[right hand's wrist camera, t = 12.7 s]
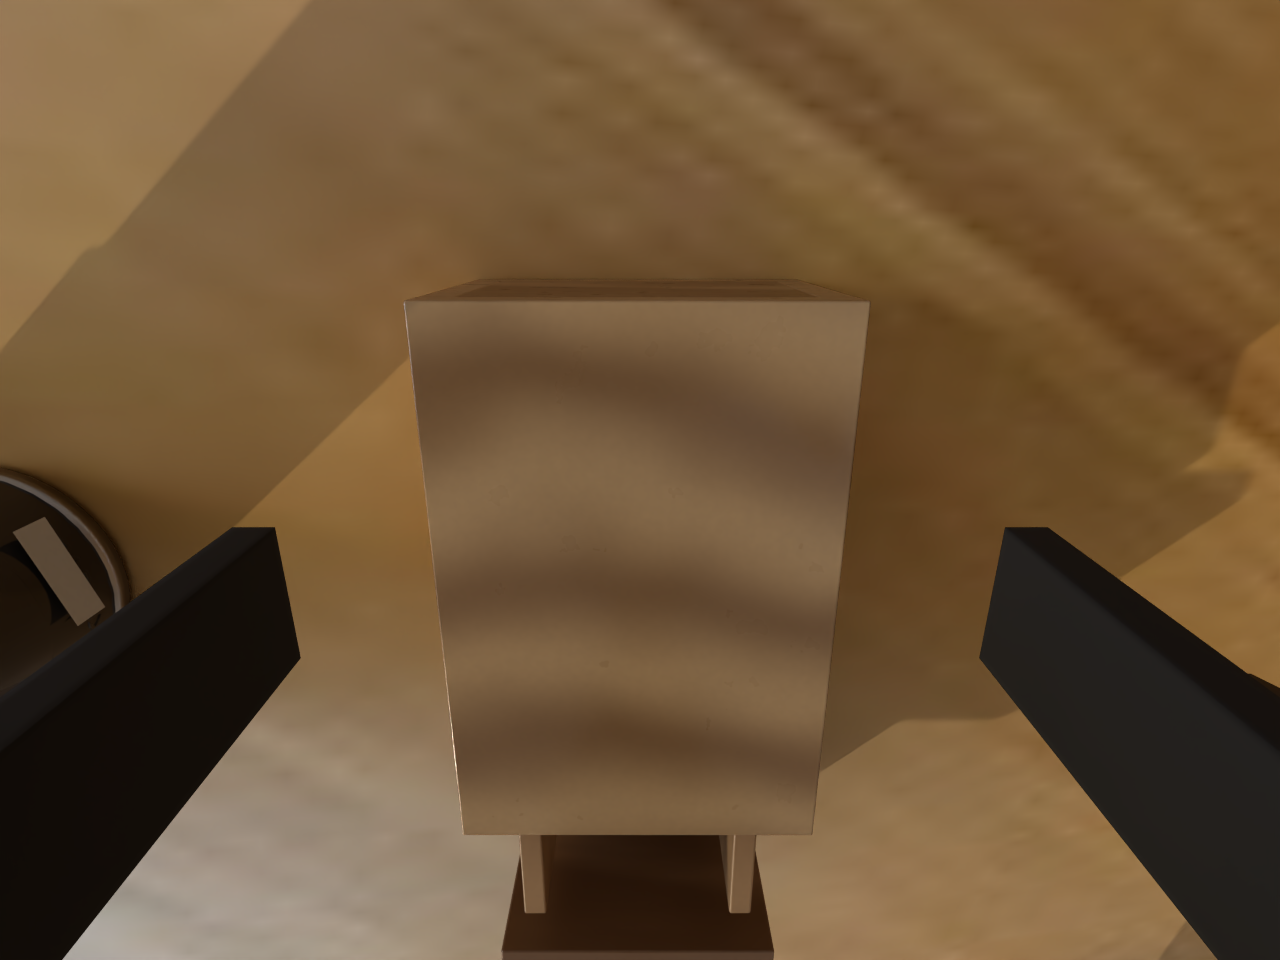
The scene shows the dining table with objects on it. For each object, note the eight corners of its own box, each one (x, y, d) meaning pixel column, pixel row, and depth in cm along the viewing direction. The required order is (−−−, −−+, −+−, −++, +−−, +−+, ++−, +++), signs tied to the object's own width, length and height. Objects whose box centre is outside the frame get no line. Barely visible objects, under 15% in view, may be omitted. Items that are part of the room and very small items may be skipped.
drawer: (741, 932, 34) (762, 1076, 28) (534, 932, 34) (512, 1076, 28) (770, 530, 26) (806, 612, 21) (506, 529, 26) (468, 612, 21)
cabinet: (768, 682, 30) (812, 835, 22) (507, 681, 30) (462, 835, 22) (798, 279, 24) (871, 300, 17) (477, 279, 24) (402, 300, 17)
